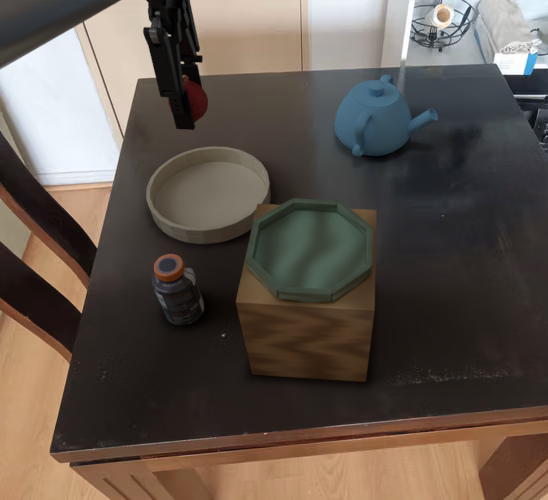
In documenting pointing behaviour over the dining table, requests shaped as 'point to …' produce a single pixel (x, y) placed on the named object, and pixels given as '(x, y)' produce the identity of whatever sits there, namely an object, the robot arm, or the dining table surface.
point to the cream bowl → (208, 194)
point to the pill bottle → (177, 290)
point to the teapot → (377, 118)
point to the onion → (195, 98)
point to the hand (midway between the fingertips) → (191, 114)
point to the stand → (309, 290)
